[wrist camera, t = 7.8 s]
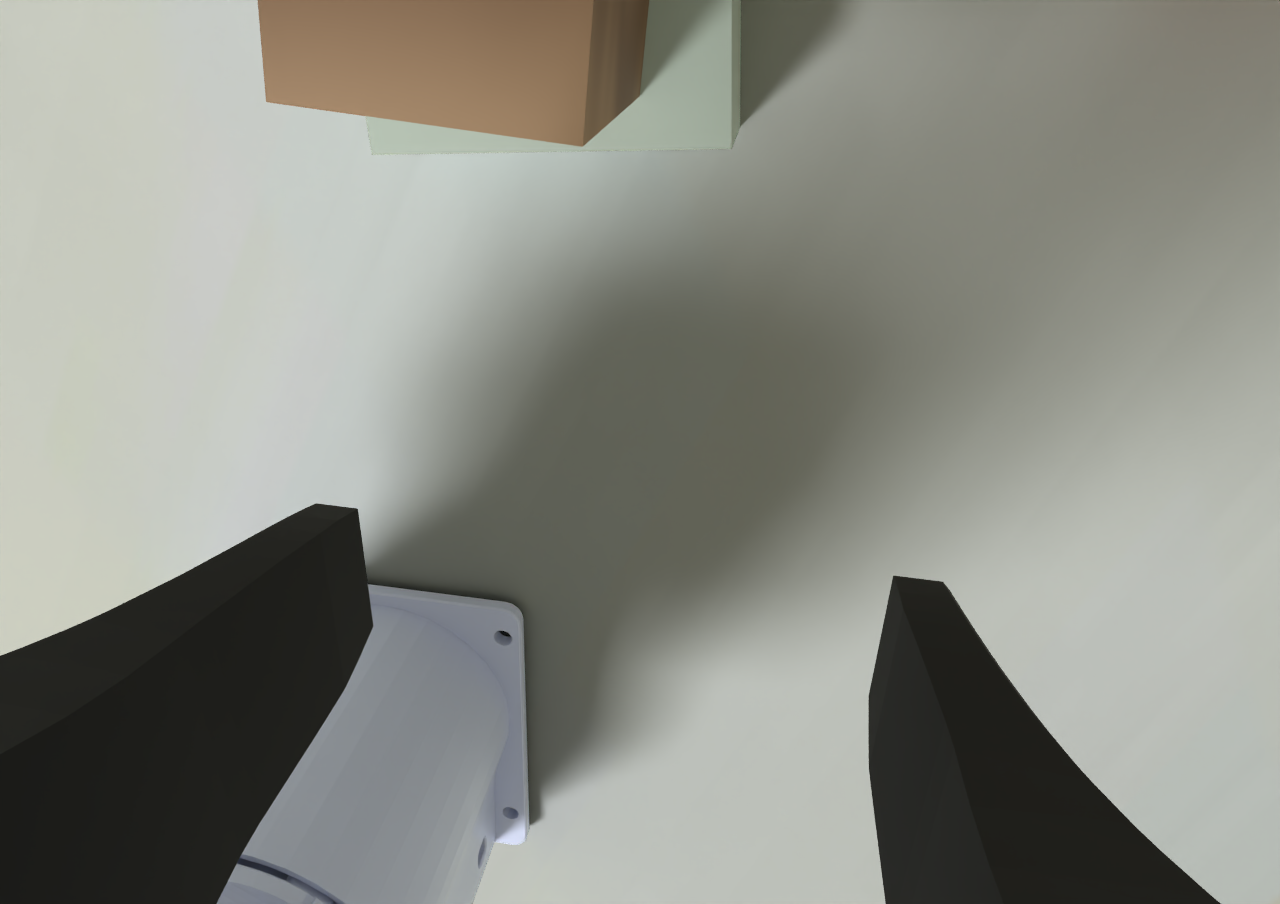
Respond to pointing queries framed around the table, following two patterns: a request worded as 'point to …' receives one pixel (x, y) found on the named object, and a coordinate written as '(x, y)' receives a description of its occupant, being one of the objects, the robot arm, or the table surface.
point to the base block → (657, 120)
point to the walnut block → (460, 62)
